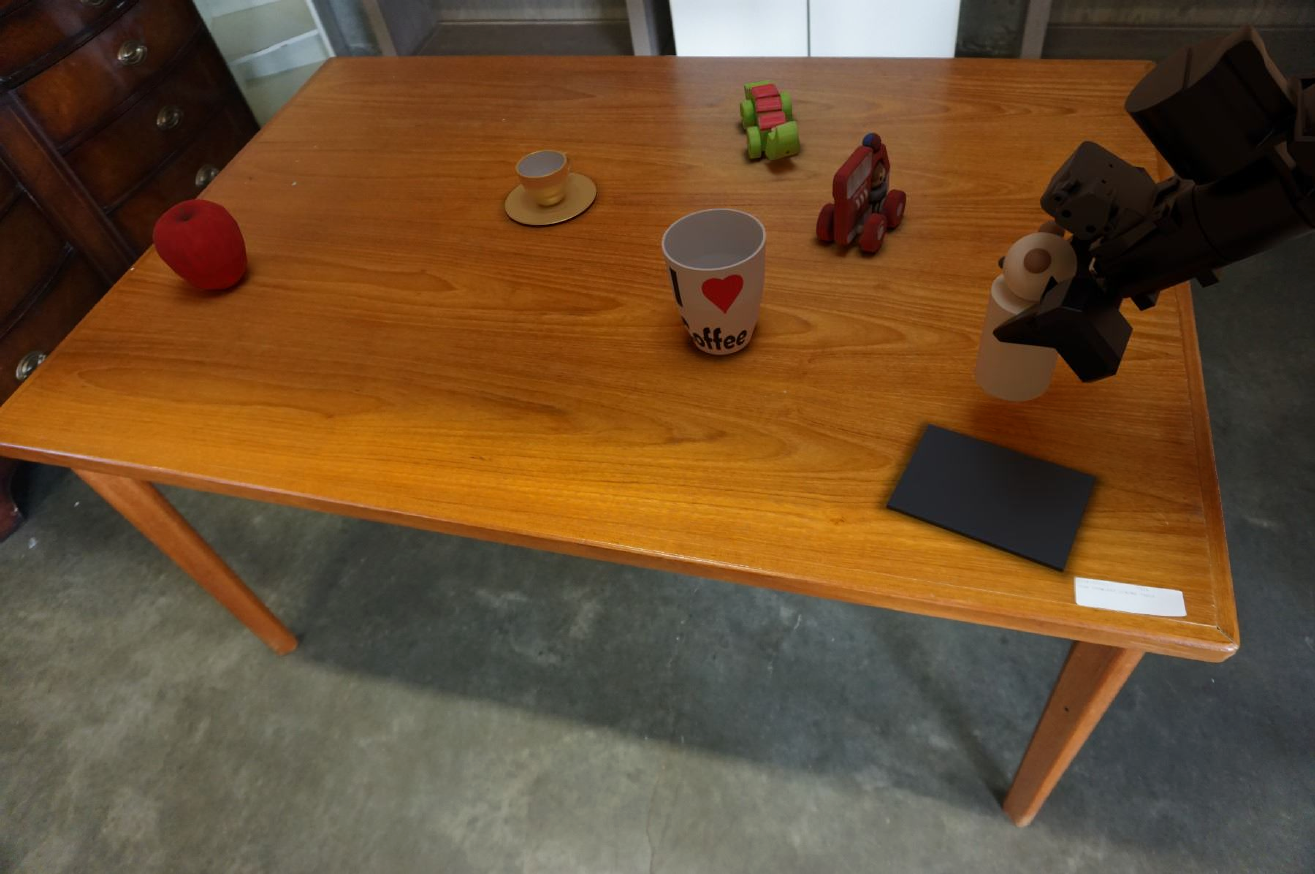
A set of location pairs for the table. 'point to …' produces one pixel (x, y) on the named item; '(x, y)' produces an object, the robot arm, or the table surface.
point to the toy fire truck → (862, 198)
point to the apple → (201, 244)
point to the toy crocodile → (768, 121)
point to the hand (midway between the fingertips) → (1008, 311)
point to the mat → (994, 495)
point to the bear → (1018, 288)
